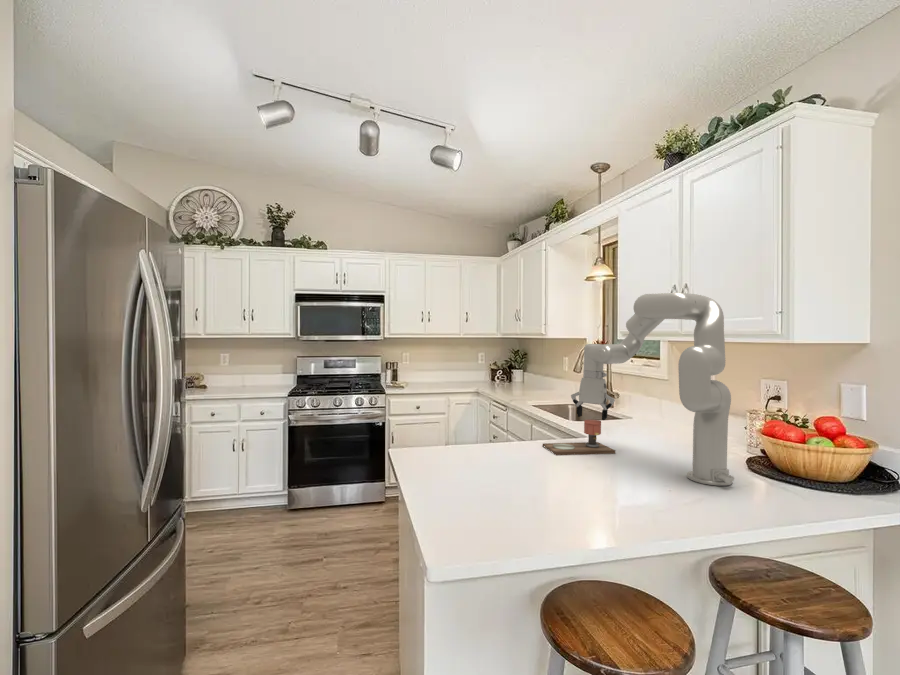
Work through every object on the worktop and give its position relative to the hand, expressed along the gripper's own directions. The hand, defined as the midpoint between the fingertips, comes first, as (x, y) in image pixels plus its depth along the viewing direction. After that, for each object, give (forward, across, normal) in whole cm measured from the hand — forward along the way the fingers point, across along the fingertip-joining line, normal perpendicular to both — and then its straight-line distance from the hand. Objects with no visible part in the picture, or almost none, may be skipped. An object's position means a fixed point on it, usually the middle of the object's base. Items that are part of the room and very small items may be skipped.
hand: (591, 418), depth 185 cm
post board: (+12, +4, +4) cm, 14 cm away
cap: (+6, -1, 0) cm, 6 cm away
